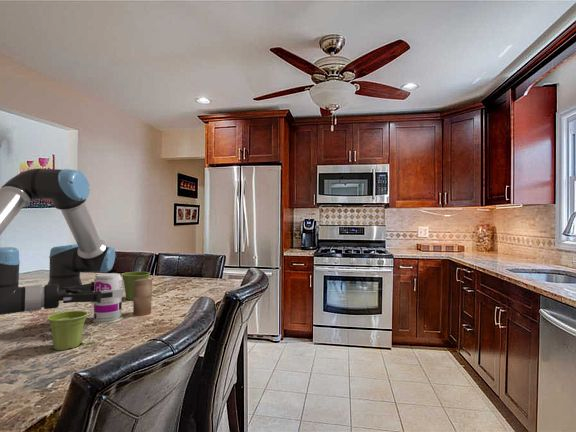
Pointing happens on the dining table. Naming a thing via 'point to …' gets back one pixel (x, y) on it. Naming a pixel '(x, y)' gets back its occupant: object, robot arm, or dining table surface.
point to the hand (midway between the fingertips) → (119, 289)
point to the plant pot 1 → (67, 328)
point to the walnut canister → (142, 297)
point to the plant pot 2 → (132, 282)
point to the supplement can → (107, 307)
